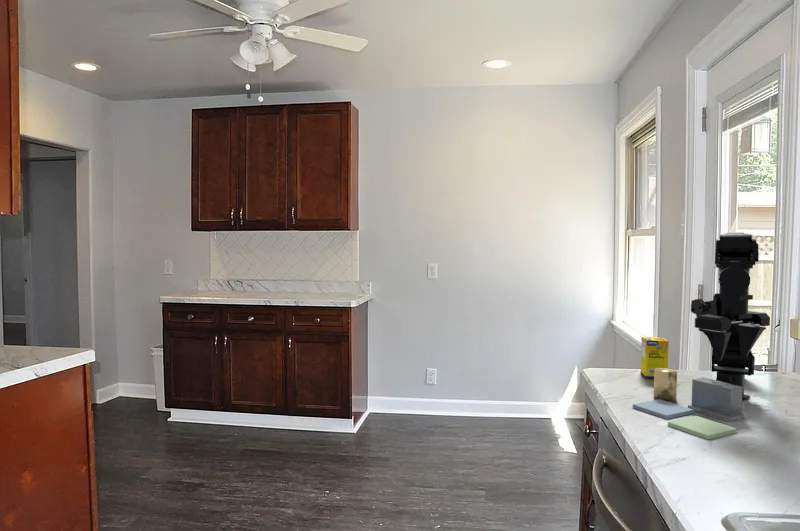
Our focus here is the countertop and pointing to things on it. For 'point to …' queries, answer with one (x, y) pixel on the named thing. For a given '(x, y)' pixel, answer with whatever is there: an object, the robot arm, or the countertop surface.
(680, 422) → the sage mat
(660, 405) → the slate mat
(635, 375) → the countertop surface
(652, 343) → the supplement box
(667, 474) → the countertop surface
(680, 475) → the countertop surface
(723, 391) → the grey block with base
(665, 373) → the gold metal cylinder
